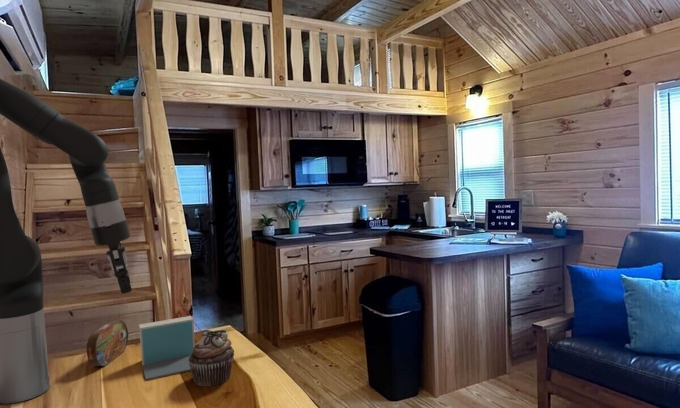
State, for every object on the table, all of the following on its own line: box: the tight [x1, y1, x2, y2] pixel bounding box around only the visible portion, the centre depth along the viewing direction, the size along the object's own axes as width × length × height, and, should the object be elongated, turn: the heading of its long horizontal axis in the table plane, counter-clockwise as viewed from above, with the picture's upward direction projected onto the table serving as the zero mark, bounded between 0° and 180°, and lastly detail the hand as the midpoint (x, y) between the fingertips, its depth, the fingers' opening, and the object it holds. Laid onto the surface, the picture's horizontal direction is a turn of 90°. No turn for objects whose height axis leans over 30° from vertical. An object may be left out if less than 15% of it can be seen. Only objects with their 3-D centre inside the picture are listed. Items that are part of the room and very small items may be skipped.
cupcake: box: [188, 329, 235, 387], centre depth 98 cm, size 10×10×10 cm
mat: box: [142, 355, 191, 381], centre depth 105 cm, size 12×8×1 cm
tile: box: [138, 315, 196, 366], centre depth 110 cm, size 12×4×9 cm, turn 117°
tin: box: [85, 320, 129, 367], centre depth 111 cm, size 15×3×8 cm, turn 179°
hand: (126, 288), depth 107 cm, fingers open, 8 cm apart
